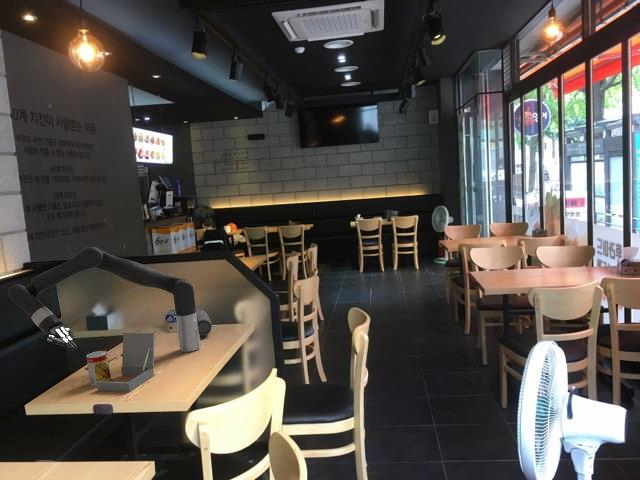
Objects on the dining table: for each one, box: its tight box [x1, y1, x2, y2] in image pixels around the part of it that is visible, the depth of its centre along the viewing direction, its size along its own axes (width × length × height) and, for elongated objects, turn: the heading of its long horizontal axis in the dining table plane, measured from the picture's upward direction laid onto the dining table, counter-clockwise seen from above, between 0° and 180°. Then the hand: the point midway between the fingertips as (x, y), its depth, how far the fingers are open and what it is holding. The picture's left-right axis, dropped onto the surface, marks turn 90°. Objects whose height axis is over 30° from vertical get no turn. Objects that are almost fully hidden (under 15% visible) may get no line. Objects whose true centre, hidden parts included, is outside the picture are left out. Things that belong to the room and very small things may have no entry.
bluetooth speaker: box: [196, 309, 213, 336], centre depth 274 cm, size 23×9×10 cm, turn 17°
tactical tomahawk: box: [85, 353, 123, 371], centre depth 240 cm, size 21×7×1 cm, turn 146°
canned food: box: [86, 350, 112, 387], centre depth 215 cm, size 8×8×12 cm
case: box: [96, 332, 156, 393], centre depth 213 cm, size 15×20×17 cm
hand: (74, 349), depth 217 cm, fingers closed
